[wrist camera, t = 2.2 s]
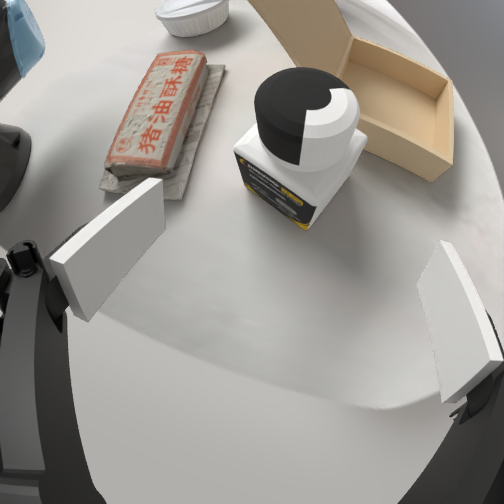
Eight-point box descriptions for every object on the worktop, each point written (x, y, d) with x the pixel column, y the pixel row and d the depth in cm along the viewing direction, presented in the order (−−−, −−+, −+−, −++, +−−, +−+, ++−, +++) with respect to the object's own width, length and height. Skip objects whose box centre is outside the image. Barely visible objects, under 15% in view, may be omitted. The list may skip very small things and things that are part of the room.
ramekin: (197, 48, 29) (187, 21, 24) (150, 36, 31) (139, 13, 26) (249, 14, 30) (245, -12, 25) (199, 3, 32) (193, -18, 27)
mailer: (253, 112, 26) (231, -20, 11) (293, 45, 28) (292, -57, 12) (432, 183, 23) (526, 97, 8) (438, 101, 25) (491, 18, 9)
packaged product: (143, 50, 25) (220, 43, 24) (156, 73, 30) (227, 70, 28) (80, 178, 22) (165, 184, 21) (105, 194, 27) (184, 203, 26)
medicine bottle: (243, 186, 25) (215, 103, 13) (289, 134, 25) (291, 42, 14) (305, 232, 24) (329, 174, 12) (349, 175, 24) (391, 94, 12)
